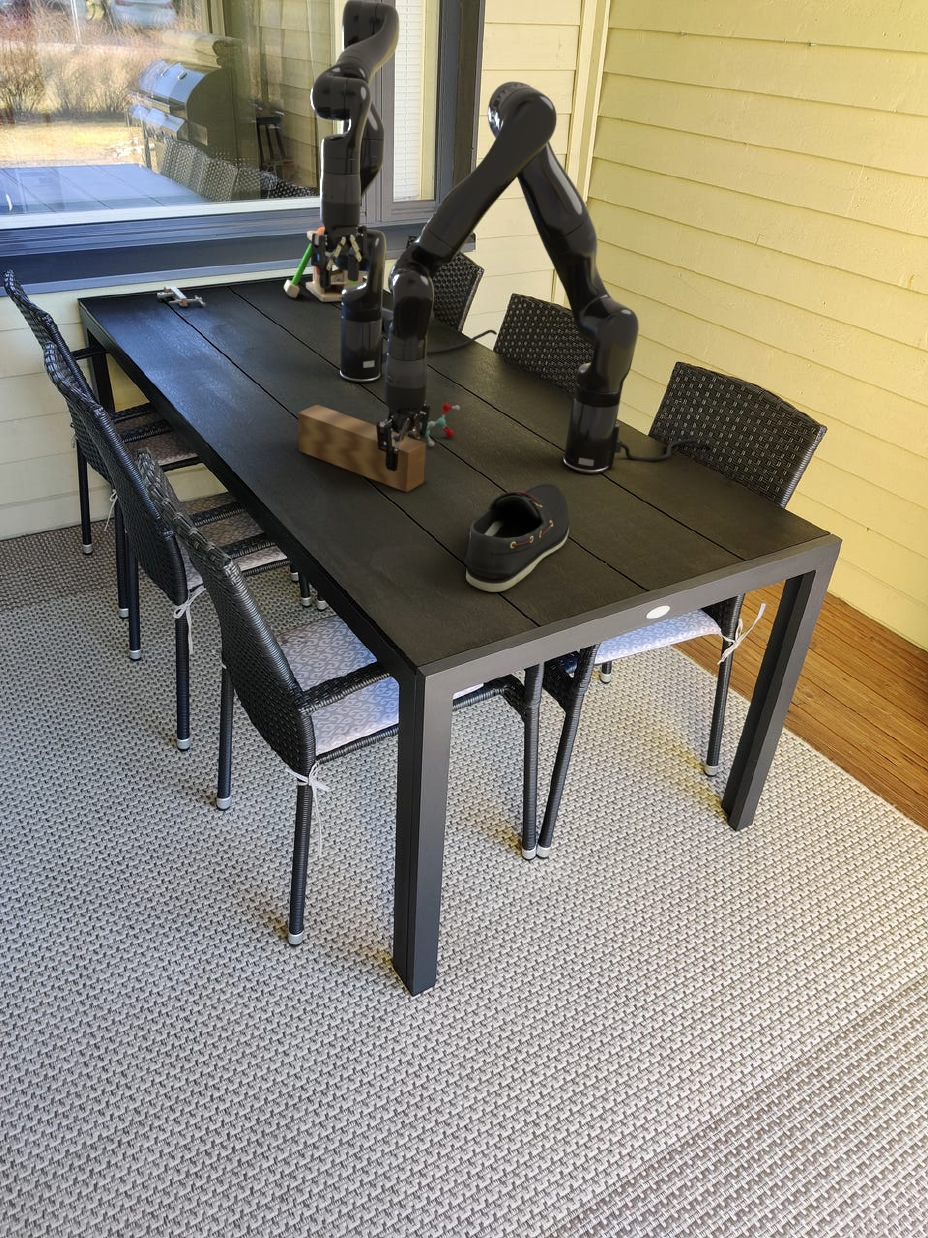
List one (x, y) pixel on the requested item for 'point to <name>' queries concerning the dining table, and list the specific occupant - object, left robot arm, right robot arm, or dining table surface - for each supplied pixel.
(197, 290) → the dining table surface
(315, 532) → the dining table surface
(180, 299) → the clamp
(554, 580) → the dining table surface
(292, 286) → the pounding bench toy
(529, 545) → the boat shoe
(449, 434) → the molecular model
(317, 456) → the bar
